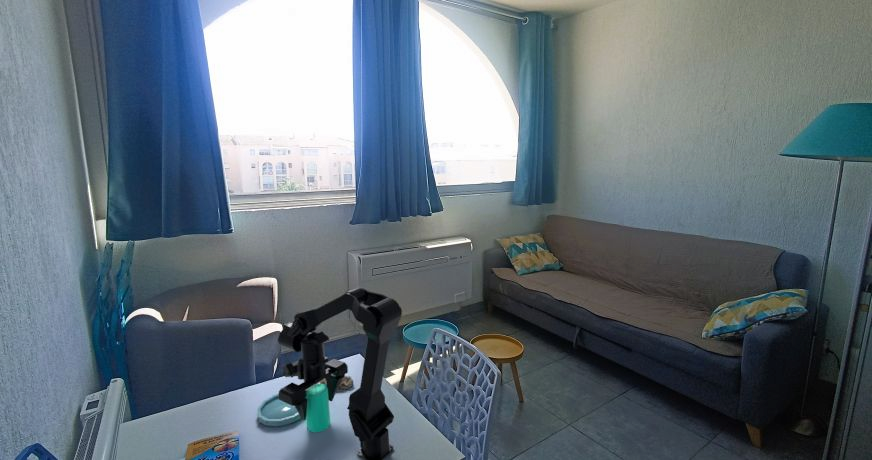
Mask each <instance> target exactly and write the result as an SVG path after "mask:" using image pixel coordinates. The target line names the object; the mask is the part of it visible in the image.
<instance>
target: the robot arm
mask: <svg viewBox="0 0 872 460" xmlns="http://www.w3.org/2000/svg"><path fill="white" fill-rule="evenodd" d="M362 305H364V306H366V307H364V306H362ZM348 310H350V311H351V313H352V314H353V317H354V318H355V320H356V321H357V322H358V323H361V325H362V330H363V331H364V333H365V335H366V336H367V339H366V340H367V341H366V346H365V354H364V360H363V367H362V374H361V379H360V387H359V388H358V389H356V390H355V391H353V392H352V393H350V394H349V398H348V406H347V410H348V418H349V421H350V424H351V427H352V431H353V435H354V436H355V437H357V438H358V440H359V444H360V449H359V450H358V451H357V452H356V455H357V457H359V458H361V459H363V460H384V459H385V458H386V457H388V455H389V454H390V453H391V452H392V451H393V450H394V446H393V445H392V444H390V438H389V429H388V428H387V427H388V426H390V424H392V423H393V422H394V418H395V416H394V414H393V412H392V411H391V410H390V408H389V407H388V405H387V403H386V396H385V394H384V392H383V390H382V384H383V378H384V372H385V369H386V361H387V355H388V350H389V349H388V348H389V344H390V339H391V337H392V335H393V334H394V333H395V331H396V329H397V328H398V325H399V324H400V321H401V318H402V315H403V314H402V313H403V309H402V307H401V306H400V304H399V303H398V302H397V300H395V299H393V298H391V297H388V296H387V295H385V294H382V293H378V292H373V291H370V290H367V289H365V287H364V288H363V287H355V288H353V289H351V290H349V291H345V293H343V294H342V295H340V296H338V297H336V298H334V299H332V300H331V301H329V302H327V303H325V304H319V305H315V306H313V307H310V308H308V309H305V310H303V311H300V312H298V313H296V314H295V315H294V317H293V318H294V320H293V321H292V322H287V323H284V324H283V329H282V330H280V333H279V336H278V338H277V343H278V345H279V346H280V347H282V348H284V349H288V350H290V351H293V352H297V353H301V358H300V359H298V360H296V361H294V362H290V363H289V362H287V363H284V364H283V365H282V374H283V376H284V377H285V378H289V377H290V378H294V377H297V379H298V380H301V381H302V380H303V382H301V383H300V384H297V383H294V382H291V383H289V384H287V385H285V386H283V387H281V388H280V389H279V390H278V393H277V394H279V400H281V401H283V402H285V403H287V404H289V405H292V406H295V408H296V409H297V411H298V413H299V415H300V416H301V420H303V421H305V420H306V414H307V401H308V399H306V396H307V395H306V390H308V389H309V388H311V387H313V386H314V385H316V384H320V382H321V381H322V380H323V379H326V382H327V388H328V399H329V402H333V400H334V398H335V395H336V393H337V392H336V391H337V389H338V387H339V385H340V383H341V381H342V379H343V378H344V377H345V376H346V374H348V373H349V369H348V368H349V367H348V364H347V363H346V362H344V361H342V360H339V359H336V358H332V359H331V360H329V357H327V356H325V355H326V354H325V344H324V343H326V342H328V341H330V338H329V336H328V335H327V334H326V333H324V331H320V332H317V330H319V329H321V328H323V327H325V326H326V325H327V324H329V323H330V322H331V319H332V318H334V317H336V316H338V315H340V314H342V313H345V312H346V311H348Z"/></svg>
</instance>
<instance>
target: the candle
mask: <svg viewBox="0 0 872 460" xmlns="http://www.w3.org/2000/svg"><path fill="white" fill-rule="evenodd" d="M306 395H307V396H306V399H308V401H307V414H306V419H305V420H306V427H307V430H308V431H309V432H312V433H320V432H322V431H325V430H326V429H328V428H329V427H330V424H331V414H330V413H331V412H330V401H329V399H328V388H327V386H326V385H325V384H320V383H318V384H316V385H314V386H313V387H311V388H309V389H308V390H306Z"/></svg>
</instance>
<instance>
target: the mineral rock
mask: <svg viewBox="0 0 872 460" xmlns="http://www.w3.org/2000/svg"><path fill="white" fill-rule="evenodd" d="M353 383H354V380H353V378H352V376H350V375H349V376H346V375H345V377H344V378H343V379H342V381H341V383H340V385H339V387H338V389H337V391H336V393H339V392H344V391H345V390H347V389H349V388H351V387H352V386H353ZM319 384H325V385H326V386H327V382H326V379H323V380H322V381H321V382H319Z"/></svg>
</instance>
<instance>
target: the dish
mask: <svg viewBox="0 0 872 460" xmlns="http://www.w3.org/2000/svg"><path fill="white" fill-rule="evenodd" d="M256 410H257V411H256V412H257V413H256V414H257V415H256V416H257V420H258V422H259V423H260V424H262V425H264V426H265V427H281V426H282V427H283V426H287V425H290V424H294V423H295V422H297V421H299V420H302V418H301V416H300V415H299V413H298V411H297V409H296V408H295V406H292V405H289V404H287V403H285V402H283V401H281V400H279V394H278V393H277V394H274V395H272V396H270V397H268V398H267V399H265V400H263V401H262V402H261V403H260V405H259V406H258V407H257V408H256Z"/></svg>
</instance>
